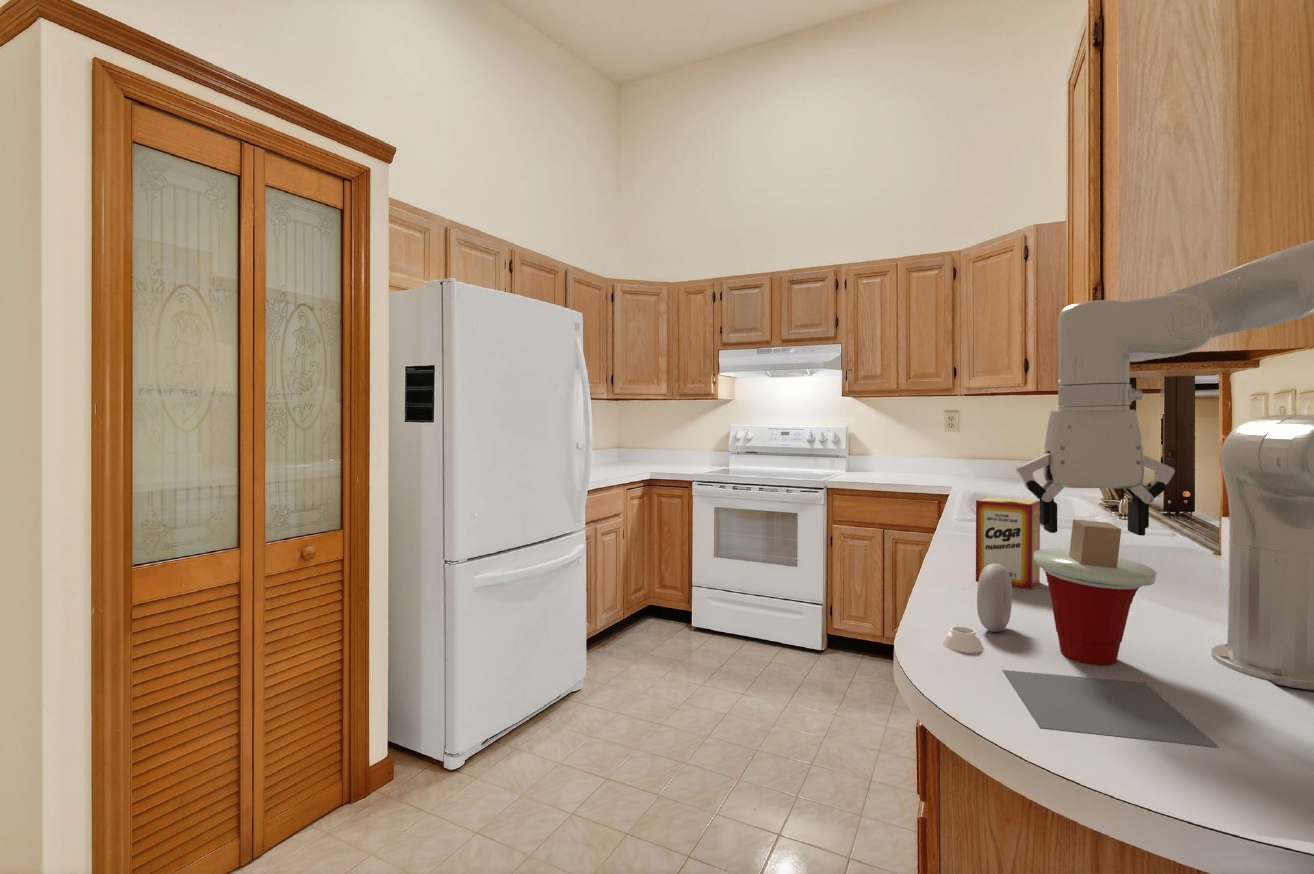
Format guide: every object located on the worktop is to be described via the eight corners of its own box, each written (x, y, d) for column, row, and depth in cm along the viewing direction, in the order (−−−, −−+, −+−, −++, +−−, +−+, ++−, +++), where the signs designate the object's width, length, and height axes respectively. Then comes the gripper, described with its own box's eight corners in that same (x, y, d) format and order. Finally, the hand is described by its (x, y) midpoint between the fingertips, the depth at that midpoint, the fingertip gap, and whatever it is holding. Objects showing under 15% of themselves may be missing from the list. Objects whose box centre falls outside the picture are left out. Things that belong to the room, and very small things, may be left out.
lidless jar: (969, 643, 89) (935, 645, 89) (969, 623, 89) (935, 624, 89) (991, 656, 84) (956, 658, 84) (991, 635, 84) (956, 636, 84)
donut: (989, 619, 99) (989, 556, 99) (1014, 624, 97) (1014, 559, 96) (973, 637, 91) (973, 568, 91) (1000, 642, 89) (1000, 572, 89)
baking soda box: (975, 581, 122) (976, 498, 122) (985, 574, 127) (985, 495, 126) (1031, 589, 116) (1032, 502, 115) (1039, 582, 121) (1040, 499, 120)
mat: (1144, 687, 74) (1144, 682, 74) (1219, 753, 59) (1219, 747, 59) (1002, 674, 78) (1002, 669, 78) (1040, 733, 64) (1040, 727, 64)
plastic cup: (1132, 686, 74) (1133, 585, 74) (1030, 661, 82) (1030, 569, 82) (1150, 661, 82) (1151, 569, 81) (1054, 640, 90) (1055, 556, 89)
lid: (1127, 562, 86) (1131, 519, 86) (1177, 591, 74) (1183, 541, 73) (1020, 551, 90) (1025, 509, 89) (1051, 577, 77) (1056, 529, 76)
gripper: (1158, 398, 82) (1157, 529, 83) (1009, 401, 87) (1010, 525, 87) (1189, 397, 75) (1188, 540, 75) (1025, 400, 80) (1025, 535, 80)
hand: (1092, 532), depth 81 cm, fingers open, 9 cm apart
